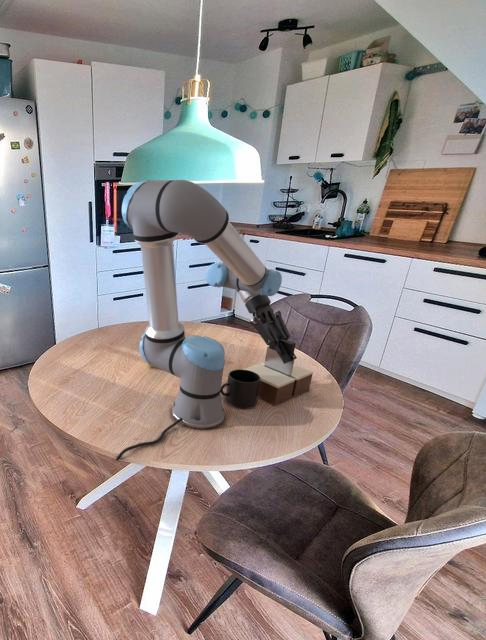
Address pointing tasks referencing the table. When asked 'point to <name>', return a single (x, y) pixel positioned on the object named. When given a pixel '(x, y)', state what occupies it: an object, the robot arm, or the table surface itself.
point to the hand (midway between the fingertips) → (290, 360)
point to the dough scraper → (276, 362)
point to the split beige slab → (281, 383)
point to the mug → (242, 388)
